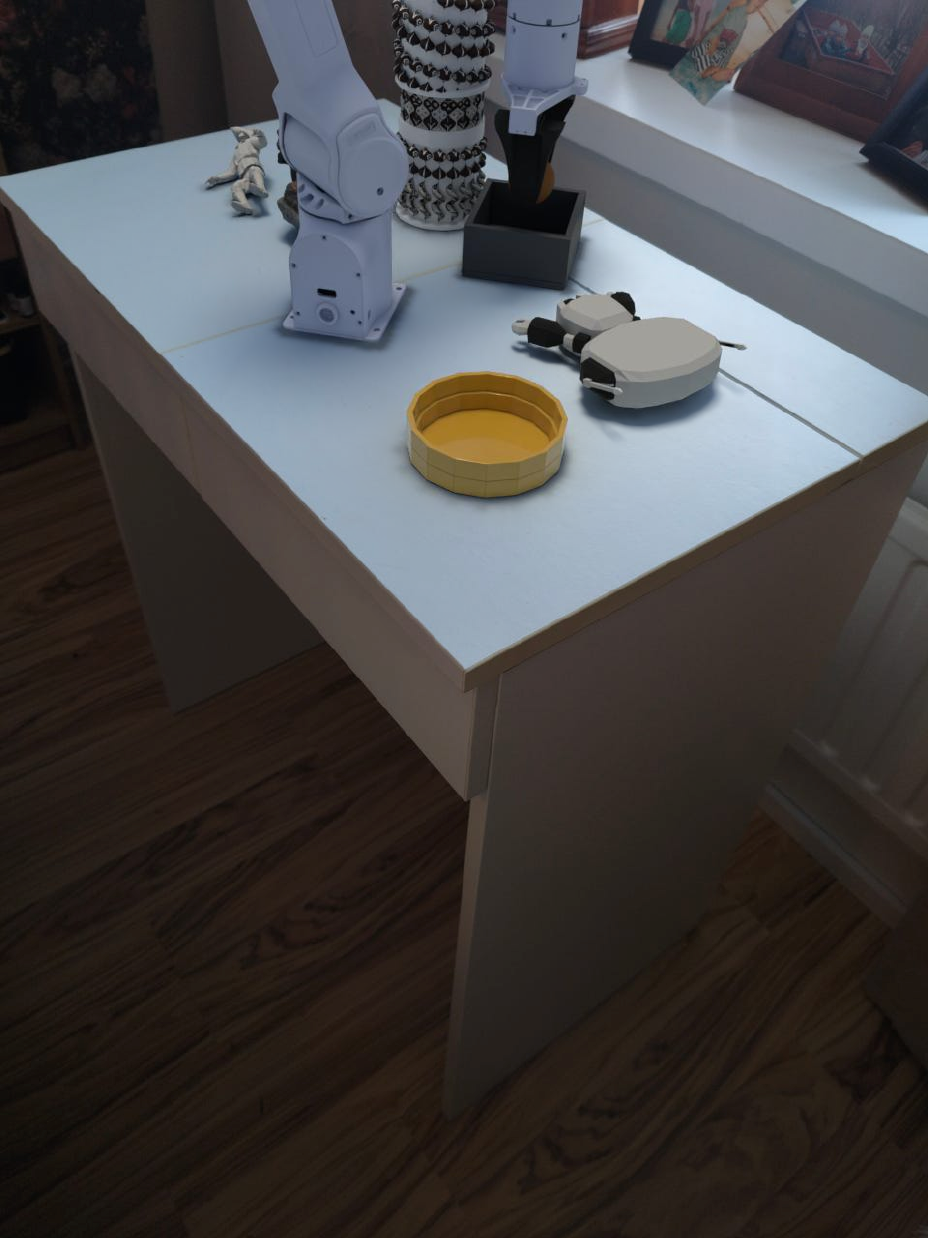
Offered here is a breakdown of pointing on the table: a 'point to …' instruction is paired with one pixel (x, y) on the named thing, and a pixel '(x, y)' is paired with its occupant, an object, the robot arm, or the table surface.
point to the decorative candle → (442, 106)
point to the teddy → (545, 184)
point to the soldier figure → (245, 168)
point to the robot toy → (629, 349)
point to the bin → (523, 236)
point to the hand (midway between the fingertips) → (528, 191)
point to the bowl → (486, 433)
